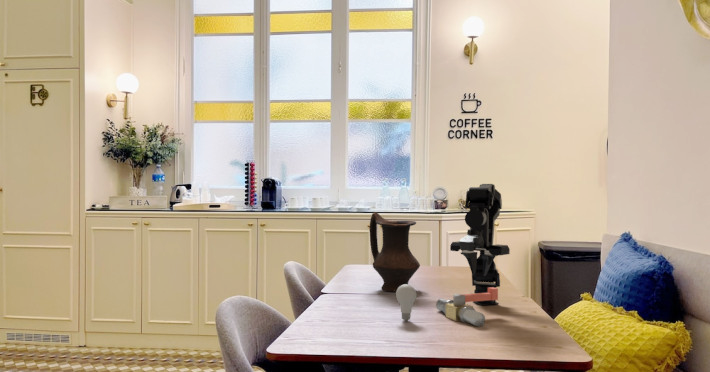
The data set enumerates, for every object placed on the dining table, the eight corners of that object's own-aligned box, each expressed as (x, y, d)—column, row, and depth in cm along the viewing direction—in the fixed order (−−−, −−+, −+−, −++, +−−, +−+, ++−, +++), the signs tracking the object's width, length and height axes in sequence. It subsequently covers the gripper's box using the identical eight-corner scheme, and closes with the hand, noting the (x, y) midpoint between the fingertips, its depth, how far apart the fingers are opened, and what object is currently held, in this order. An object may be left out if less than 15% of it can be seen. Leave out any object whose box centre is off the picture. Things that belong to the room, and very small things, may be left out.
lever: (492, 300, 177) (492, 286, 177) (498, 302, 173) (498, 288, 173) (451, 303, 171) (451, 289, 171) (457, 305, 168) (457, 291, 168)
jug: (428, 288, 221) (428, 213, 221) (406, 296, 205) (407, 214, 205) (381, 283, 232) (382, 211, 232) (358, 290, 216) (358, 213, 216)
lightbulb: (418, 319, 168) (418, 283, 168) (413, 324, 162) (413, 286, 162) (398, 318, 170) (398, 282, 170) (393, 322, 164) (393, 285, 164)
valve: (449, 311, 182) (449, 295, 182) (488, 327, 161) (488, 309, 161) (433, 313, 180) (433, 297, 180) (470, 329, 159) (470, 311, 159)
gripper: (440, 226, 179) (440, 274, 179) (491, 229, 166) (491, 281, 166) (460, 224, 187) (459, 271, 187) (510, 227, 174) (510, 277, 174)
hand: (479, 275), depth 178 cm, fingers open, 4 cm apart
